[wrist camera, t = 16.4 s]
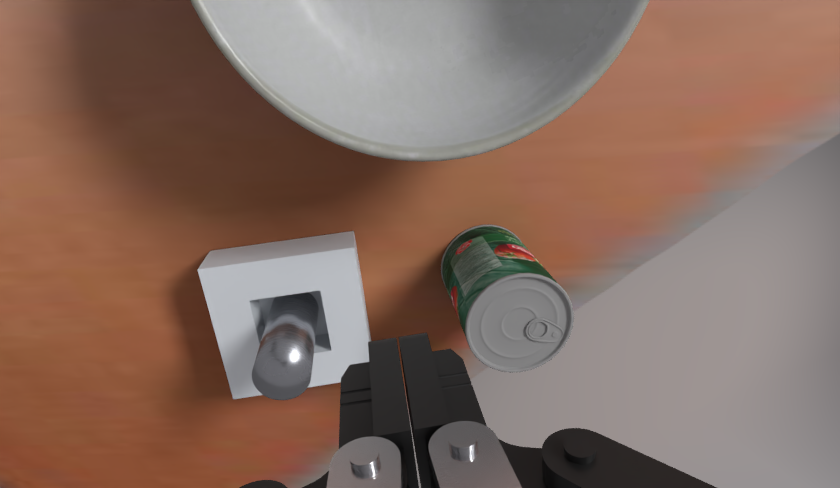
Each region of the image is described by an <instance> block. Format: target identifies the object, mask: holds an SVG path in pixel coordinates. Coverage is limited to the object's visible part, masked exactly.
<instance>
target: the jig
mask: <svg viewBox="0 0 840 488" xmlns="http://www.w3.org/2000/svg"><path fill="white" fill-rule="evenodd" d="M198 273H199V277H200V281H201V284H202V288H203V291H204V295H205V299H206V302H207V306H208V310H209V313H210V317H211V320H212V324H213V328H214V331H215V335H216V338H217V342H218V346H219V349H220V353H221V357H222V360H223V364H224V367H225V371H226V375H227V378H228V382H229V386H230V389H231V393H232V396H233V399H239V398H246V397H252V396H258V395H263V394H261V393H260V392H259V391H258V390H257V389H256V387H255V386H254V384H253V381H252V370H253V366H254V363H255V359H256V356H257V353H258V349H259V346H260V343H261V339H262V336H263V333H264V329H265V326H266V322H267V319H268V316H269V312H270V309H271V306H272V302H273V300H274V298H275V297H278V296H285V295H292V294H298V293H305V292H309V293H310V294H312V295H313V296H314V298H315V299H316V301H317V303H318V307H319V312H318V321H317V330H316V339H315V347H314V356H313V365H312V374H311V381H310V384H309V386H308V387H314V386H320V385H327V384H333V383H339V382H341V377H342V376H343V374H344V373H345V371H346V370H347V368H348V367H349V365H352V364H358V363H364V362H369V350H368V342H370V341H371V336H370V329H369V323H368V317H367V310H366V304H365V298H364V291H363V285H362V279H361V272H360V266H359V260H358V253H357V247H356V241H355V234H354V231H349V232H342V233H335V234H328V235H321V236H314V237H306V238H299V239H292V240H285V241H278V242H270V243H263V244H256V245H249V246H242V247H234V248H227V249H220V250H213V251H210V252H209V253H208V255H207V256H206V258H205V259H204V261H203V262H202V264H201V265H200V267H199V268H198ZM308 387H307V388H308Z"/></svg>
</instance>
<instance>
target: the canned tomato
mask: <svg viewBox="0 0 840 488" xmlns="http://www.w3.org/2000/svg"><path fill="white" fill-rule="evenodd" d="M441 275H442V280H443V282H444V285H445V287H446V289H447V291H448V294H449V296H450V299H451V301H452V304H453V306H454V309H455V311H456V314H457V316H458V319H459V321H460V324H461V326H462V329H463V331H464V333H465V336H466V339H467V342H468V345H469V347H470V349H471V351H472V352H473V353H474V355H475V356H476V358H478V359H479V360H480V361H481V362H482V363H483V364H485V365H487V366H489V367H490V368H492V369H496V370H499V371H504V372H523V371H528V370H532V369H534V368H537V367H539V366H541V365H543V364H545V363H546V362H548V361H550V360H551V359H552V358H553V357H554V356H555V355H556V354H558V353H559V351H560V350H561V349H562V348H563V346H564V345H565V344H566V342H567V340H568V338H569V337H570V334H571V330H572V328H573V321H574V315H573V307H572V304H571V301H570V298H569V297H568V295H567V293H566V292H565V290H564V289H563V288H562V287H561V286H560V285H559V284H558V283H557V282H556V281H555V280H554V279H553V278H552V276H551V275H550V274H549V273H548V272H547V271H546V270H545V268H544V267H543V266H542V265H541V264H540V263H539V261H538V260H537V259H536V258H535V257H534V256H533V255H532V253H531V252H530V251H529V250H528V249H527V248H526V246H525V245H524V244H523V243H522V242H521V240H520V239H519V238H518V237H517V236H516V235H515V234H514V233H512V232H511V231H509V230H508V229H506V228H503V227H501V226H496V225H479V226H474V227H472V228H469V229H467V230H465V231H463V232H462V233H460V234H459V235H457V236H456V237H455V238H454V239H453V240H452V241H451V243H450V244H449V245H448V247H447V248H446V250H445V253H444V255H443V258H442V262H441Z"/></svg>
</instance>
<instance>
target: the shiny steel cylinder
mask: <svg viewBox="0 0 840 488" xmlns="http://www.w3.org/2000/svg"><path fill="white" fill-rule="evenodd" d="M318 312H319V307H318V303H317V301H316V299H315V298H314V296H313V295H312V294H310V293H309V292H305V293H298V294H292V295H285V296H278V297H275V298H274V300H273V302H272V306H271V309H270V312H269V316H268V319H267V322H266V326H265V329H264V333H263V336H262V339H261V343H260V346H259V349H258V353H257V356H256V359H255V363H254V366H253V370H252V381H253V384H254V386H255V387H256V389H257V390H258V391H259V392H260V393H261V394H263V395H264V396H266V397H268V398H271V399H275V400H288V399H292V398H295V397H297V396H299V395H300V394H302V393H303V392H304V391H305V390H306V389H307V387H308V386H309V384H310V381H311V374H312V365H313V356H314V347H315V339H316V330H317V321H318Z"/></svg>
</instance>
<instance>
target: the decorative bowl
mask: <svg viewBox="0 0 840 488" xmlns="http://www.w3.org/2000/svg"><path fill="white" fill-rule="evenodd" d="M190 1H191V3H192V5H193V7H194V9H195V11H196V12H197V14H198V16H199V18H200V20H201V22H202V23H203V25H204V27H205V28H206V30H207V31H208V33H209V35H210V36H211V38H212V39H213V41H214V42H215V44H216V45H217V47H218V48H219V49H220V51H221V52H222V53H223V55H224V56H225V57H226V59H227V60H228V61H229V63H230V64H231V65H232V66H233V67H234V68H235V70H236V71H237V72H238V73H239V74H240V75H241V77H242V78H243V79H244V80H245V81H246V82H247V83H248V84H249V85H250V86H251V87H252V88H253V89H254V90H255V91H256V92H257V93H258V94H259V95H261V96H262V97H263V98H264V99H265V100H266V101H267V102H269V103H270V104H271V105H272V106H273V107H275V108H276V109H277V110H279V111H280V112H281V113H283V114H284V115H285V116H286V117H288V118H290V119H291V120H293V121H294V122H296V123H297V124H299V125H300V126H302V127H303V128H305V129H307V130H309V131H311V132H312V133H314V134H316V135H318V136H320V137H322V138H324V139H326V140H328V141H331V142H333V143H335V144H337V145H340V146H343V147H346V148H348V149H351V150H354V151H357V152H361V153H365V154H368V155H372V156H377V157H382V158H387V159H394V160H403V161H421V162H425V161H444V160H452V159H460V158H465V157H470V156H475V155H478V154H482V153H485V152H489V151H492V150H495V149H498V148H501V147H503V146H506V145H509V144H511V143H513V142H515V141H517V140H520V139H522V138H524V137H526V136H528V135H529V134H531V133H533V132H535V131H537V130H539V129H540V128H542V127H543V126H545V125H546V124H548V123H550V122H551V121H553V120H554V119H555V118H557V117H558V116H559V115H561V114H562V113H563V112H565V111H566V110H567V109H569V108H570V107H571V106H572V105H573V104H574V103H576V102H577V101H578V100H579V99H580V98H581V97H582V96H583V95H584V94H585V93H586V92H587V91H588V90H589V89H590V88H591V87H592V86H593V85H594V84H595V83H596V82H597V81H598V80H599V79H600V78H601V76H602V75H603V74H604V73H605V72H606V71H607V70H608V68H609V67H610V66H611V64H612V63H613V62H614V60H615V59H616V58H617V56H618V55H619V54H620V52H621V51H622V49H623V48H624V46H625V45H626V43H627V41H628V40H629V38H630V37H631V35H632V33H633V32H634V30H635V28H636V26H637V24H638V23H639V21H640V19H641V17H642V15H643V13H644V11H645V9H646V7H647V4H648V2H649V0H190Z"/></svg>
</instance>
